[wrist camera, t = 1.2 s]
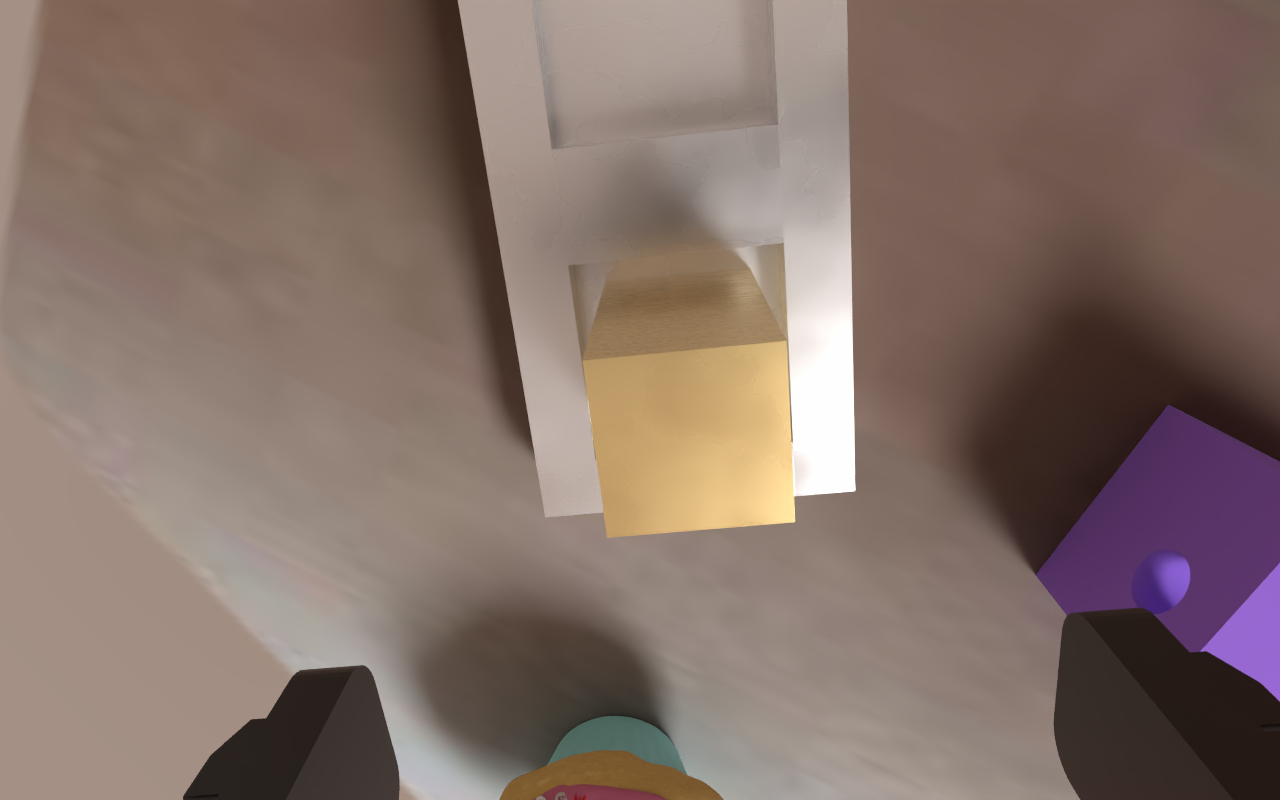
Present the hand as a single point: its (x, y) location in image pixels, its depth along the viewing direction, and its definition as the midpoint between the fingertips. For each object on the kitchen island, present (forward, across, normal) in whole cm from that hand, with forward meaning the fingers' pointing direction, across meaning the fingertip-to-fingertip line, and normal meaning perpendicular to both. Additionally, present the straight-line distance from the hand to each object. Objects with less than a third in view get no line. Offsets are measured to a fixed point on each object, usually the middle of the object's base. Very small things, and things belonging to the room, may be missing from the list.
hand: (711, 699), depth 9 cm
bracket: (+16, -18, +10) cm, 26 cm away
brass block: (+14, 0, 0) cm, 15 cm away
